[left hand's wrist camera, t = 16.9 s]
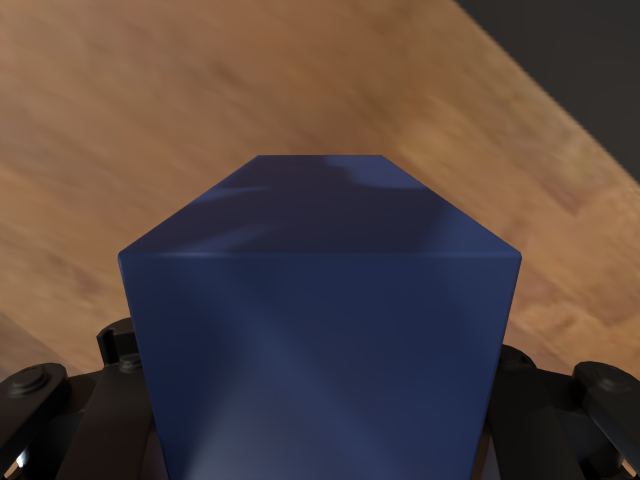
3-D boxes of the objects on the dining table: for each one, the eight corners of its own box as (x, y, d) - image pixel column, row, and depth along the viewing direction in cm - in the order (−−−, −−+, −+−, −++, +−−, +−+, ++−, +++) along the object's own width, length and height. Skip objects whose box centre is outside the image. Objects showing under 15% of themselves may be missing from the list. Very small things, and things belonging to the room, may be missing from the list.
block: (382, 155, 15) (526, 253, 5) (371, 327, 18) (441, 617, 8) (257, 155, 15) (113, 253, 5) (267, 327, 18) (198, 617, 8)
